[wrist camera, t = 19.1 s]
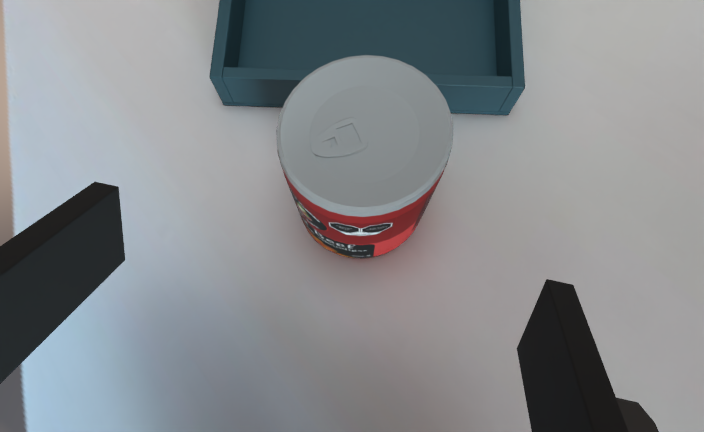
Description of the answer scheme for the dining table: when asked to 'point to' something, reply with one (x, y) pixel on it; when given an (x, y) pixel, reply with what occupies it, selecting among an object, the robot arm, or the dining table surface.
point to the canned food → (364, 152)
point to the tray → (371, 46)
